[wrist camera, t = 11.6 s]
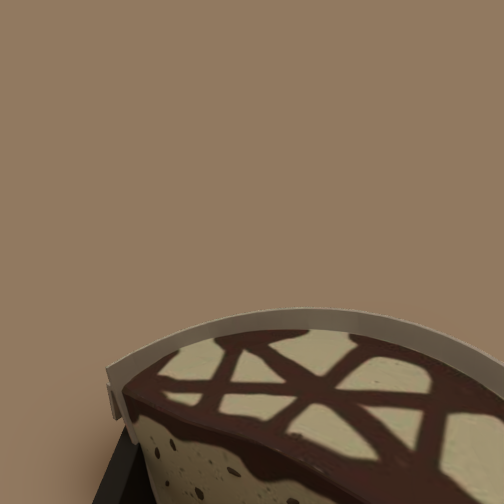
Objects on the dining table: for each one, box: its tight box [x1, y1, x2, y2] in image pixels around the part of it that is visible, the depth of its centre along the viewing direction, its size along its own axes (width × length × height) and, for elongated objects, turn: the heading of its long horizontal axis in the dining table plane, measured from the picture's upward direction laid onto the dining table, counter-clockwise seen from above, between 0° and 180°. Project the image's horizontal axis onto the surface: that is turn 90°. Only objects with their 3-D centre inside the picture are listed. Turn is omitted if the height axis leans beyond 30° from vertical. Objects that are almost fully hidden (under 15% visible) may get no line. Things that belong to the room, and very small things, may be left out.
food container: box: [105, 307, 504, 504], centre depth 11 cm, size 12×6×10 cm, turn 55°
